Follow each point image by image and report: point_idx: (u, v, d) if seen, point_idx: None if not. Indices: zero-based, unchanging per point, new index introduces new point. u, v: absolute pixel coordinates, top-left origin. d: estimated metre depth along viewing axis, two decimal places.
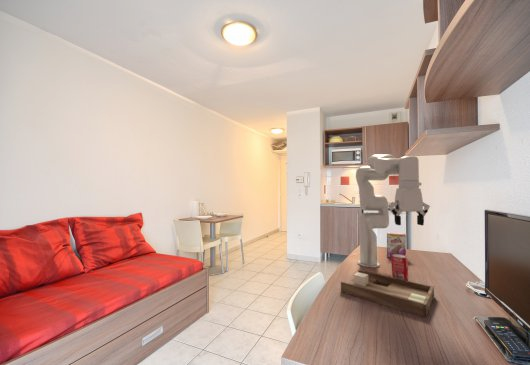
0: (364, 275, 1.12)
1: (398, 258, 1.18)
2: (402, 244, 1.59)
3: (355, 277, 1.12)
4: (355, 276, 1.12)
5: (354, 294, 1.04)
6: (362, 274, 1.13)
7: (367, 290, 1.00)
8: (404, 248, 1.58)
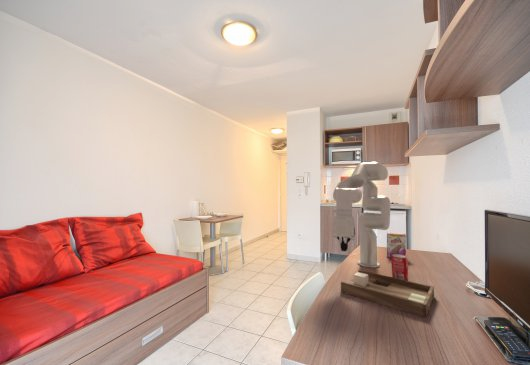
0: (364, 275, 1.12)
1: (398, 258, 1.18)
2: (402, 244, 1.59)
3: (355, 277, 1.12)
4: (355, 276, 1.12)
5: (354, 294, 1.04)
6: (362, 274, 1.13)
7: (367, 290, 1.00)
8: (404, 248, 1.58)
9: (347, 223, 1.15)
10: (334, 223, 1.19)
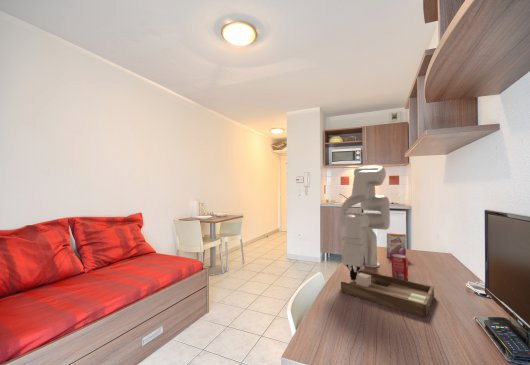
0: (367, 276, 1.11)
1: (398, 258, 1.18)
2: (402, 244, 1.59)
3: (358, 278, 1.11)
4: (358, 277, 1.11)
5: (354, 294, 1.04)
6: (365, 275, 1.12)
7: (367, 290, 1.00)
8: (404, 248, 1.58)
9: (357, 252, 1.11)
10: (343, 251, 1.16)
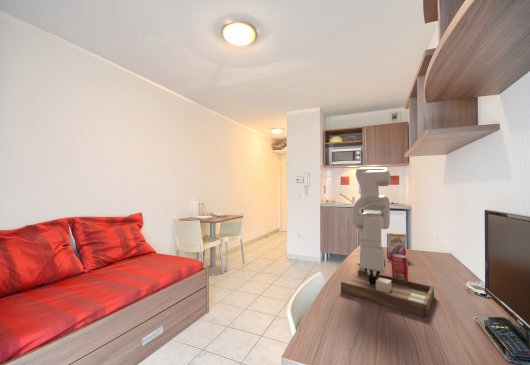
0: (387, 281, 1.05)
1: (398, 258, 1.18)
2: (402, 244, 1.59)
3: (377, 283, 1.05)
4: (377, 282, 1.05)
5: (354, 294, 1.04)
6: (385, 280, 1.06)
7: (367, 290, 1.00)
8: (404, 248, 1.58)
9: (377, 255, 1.06)
10: (361, 254, 1.10)
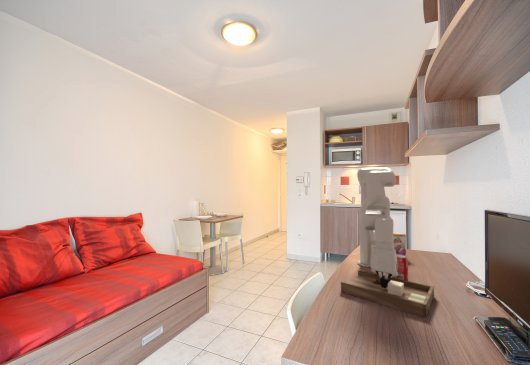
0: (400, 284, 1.01)
1: (398, 258, 1.18)
2: (402, 244, 1.59)
3: (389, 286, 1.02)
4: (389, 285, 1.02)
5: (354, 294, 1.04)
6: (397, 283, 1.02)
7: (367, 290, 1.00)
8: (404, 248, 1.58)
9: (389, 257, 1.02)
10: (373, 256, 1.07)
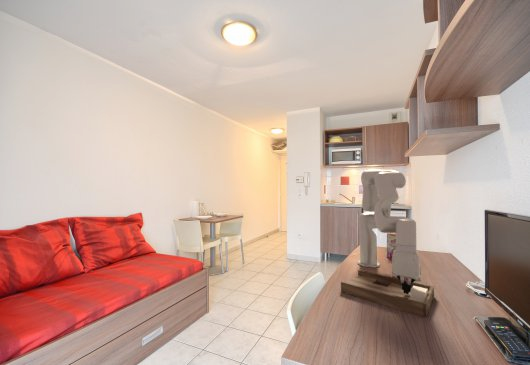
0: (424, 290, 0.96)
1: None
2: None
3: (413, 292, 0.96)
4: (413, 291, 0.96)
5: (354, 294, 1.04)
6: (421, 289, 0.96)
7: (367, 290, 1.00)
8: None
9: (412, 262, 0.97)
10: (394, 260, 1.01)
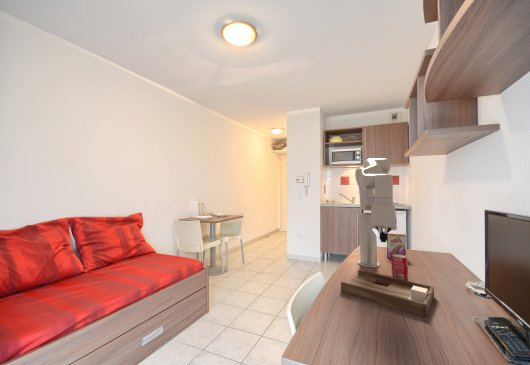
0: (424, 290, 0.96)
1: (398, 258, 1.18)
2: (402, 244, 1.59)
3: (413, 292, 0.96)
4: (413, 291, 0.96)
5: (354, 294, 1.04)
6: (421, 289, 0.96)
7: (367, 290, 1.00)
8: (404, 248, 1.58)
9: (388, 212, 1.05)
10: (372, 212, 1.09)
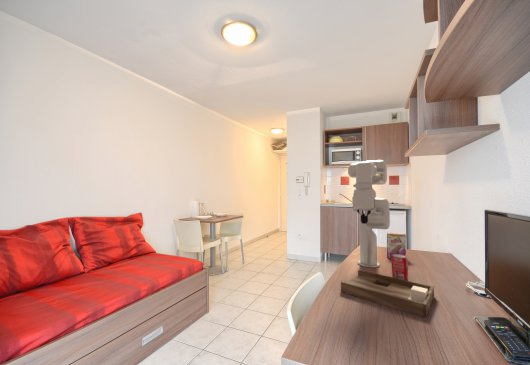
0: (424, 290, 0.96)
1: (398, 258, 1.18)
2: (402, 244, 1.59)
3: (413, 292, 0.96)
4: (413, 291, 0.96)
5: (354, 294, 1.04)
6: (421, 289, 0.96)
7: (367, 290, 1.00)
8: (404, 248, 1.58)
9: (368, 195, 1.17)
10: (354, 196, 1.21)
